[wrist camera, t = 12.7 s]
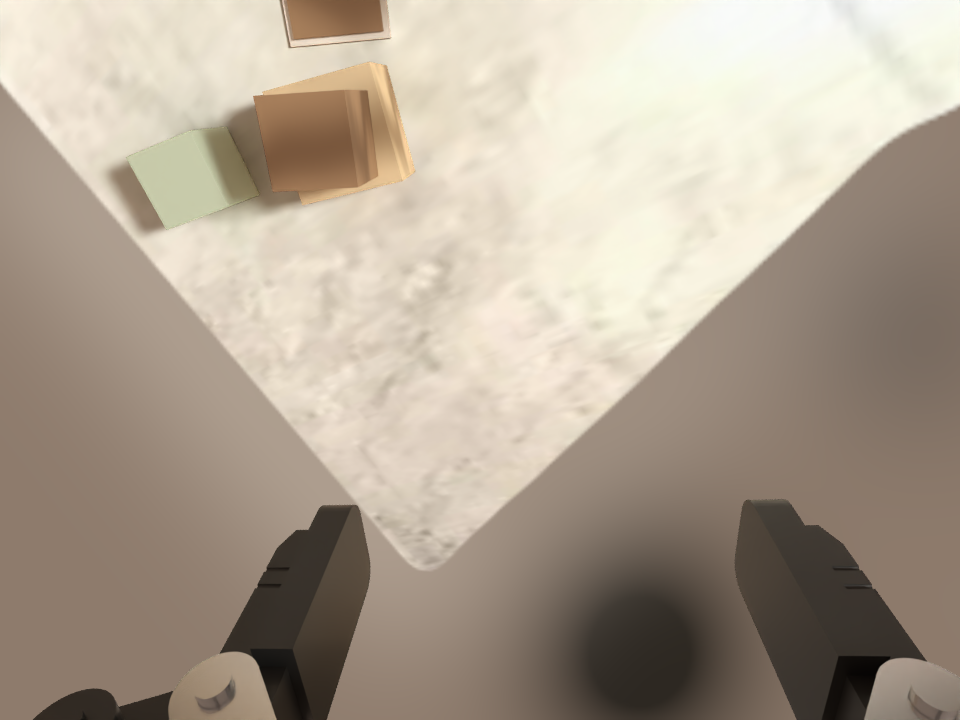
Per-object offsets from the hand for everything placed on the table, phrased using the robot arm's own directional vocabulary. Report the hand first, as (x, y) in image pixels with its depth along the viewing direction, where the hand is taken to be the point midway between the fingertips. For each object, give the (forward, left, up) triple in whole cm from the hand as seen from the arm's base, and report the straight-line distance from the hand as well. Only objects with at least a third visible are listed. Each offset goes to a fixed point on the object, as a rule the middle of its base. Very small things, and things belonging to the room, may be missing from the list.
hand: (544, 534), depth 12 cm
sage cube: (-5, -23, -33) cm, 41 cm away
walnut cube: (-7, -12, -28) cm, 32 cm away
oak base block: (-7, -12, -33) cm, 36 cm away
